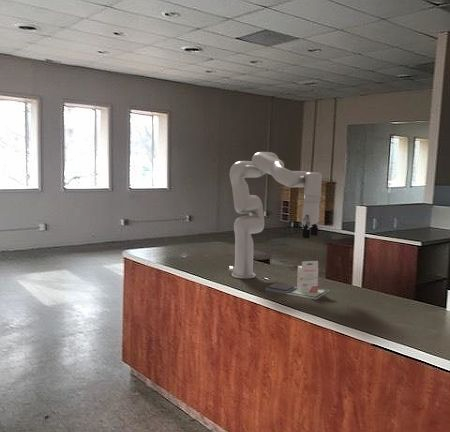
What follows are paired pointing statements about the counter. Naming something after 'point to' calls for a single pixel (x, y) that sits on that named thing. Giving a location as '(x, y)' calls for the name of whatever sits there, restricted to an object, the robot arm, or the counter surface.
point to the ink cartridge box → (307, 277)
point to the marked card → (308, 295)
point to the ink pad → (280, 288)
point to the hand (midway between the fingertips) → (310, 236)
